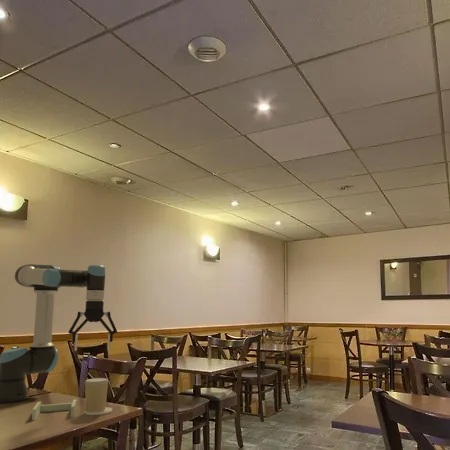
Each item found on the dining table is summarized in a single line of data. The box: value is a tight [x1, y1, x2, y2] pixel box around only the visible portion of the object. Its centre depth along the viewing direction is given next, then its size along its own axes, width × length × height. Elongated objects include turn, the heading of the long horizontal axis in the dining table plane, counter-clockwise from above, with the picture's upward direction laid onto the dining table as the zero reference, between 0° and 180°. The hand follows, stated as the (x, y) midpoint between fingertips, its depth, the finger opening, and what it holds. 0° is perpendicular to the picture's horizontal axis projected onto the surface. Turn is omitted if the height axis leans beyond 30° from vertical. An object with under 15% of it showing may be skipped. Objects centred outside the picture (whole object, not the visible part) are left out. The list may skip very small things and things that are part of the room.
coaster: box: [84, 406, 113, 416], centre depth 180 cm, size 11×11×1 cm
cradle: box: [31, 399, 78, 421], centre depth 177 cm, size 15×15×4 cm
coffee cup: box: [84, 377, 109, 412], centre depth 181 cm, size 9×9×12 cm
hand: (92, 350), depth 188 cm, fingers open, 13 cm apart
